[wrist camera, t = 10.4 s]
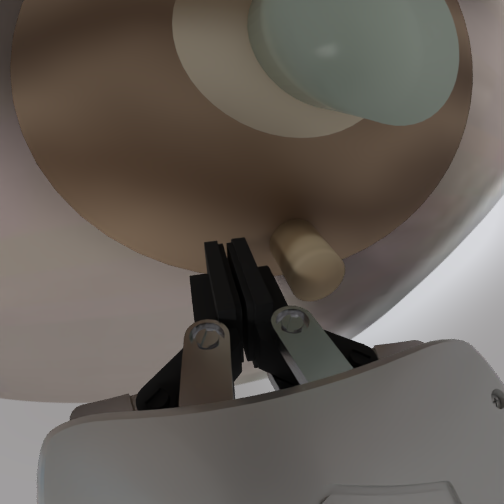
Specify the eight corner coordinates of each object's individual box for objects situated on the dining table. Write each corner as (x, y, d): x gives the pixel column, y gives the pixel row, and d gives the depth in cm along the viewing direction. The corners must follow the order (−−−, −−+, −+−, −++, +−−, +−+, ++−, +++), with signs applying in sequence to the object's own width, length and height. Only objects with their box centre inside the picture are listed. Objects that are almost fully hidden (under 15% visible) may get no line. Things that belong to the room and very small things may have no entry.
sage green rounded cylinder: (254, -48, 6) (289, -93, 2) (396, -2, 7) (457, -10, 4) (240, 100, 9) (273, 105, 6) (386, 121, 11) (448, 143, 8)
